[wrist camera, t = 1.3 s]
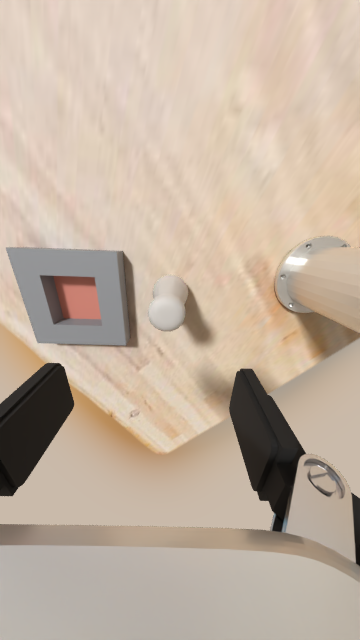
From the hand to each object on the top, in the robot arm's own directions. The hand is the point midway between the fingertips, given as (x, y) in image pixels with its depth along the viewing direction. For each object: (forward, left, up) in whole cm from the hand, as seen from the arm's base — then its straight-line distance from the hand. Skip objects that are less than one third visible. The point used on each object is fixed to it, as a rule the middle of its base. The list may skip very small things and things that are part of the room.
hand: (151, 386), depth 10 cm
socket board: (+16, +2, -23) cm, 28 cm away
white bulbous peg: (0, 0, -23) cm, 23 cm away
